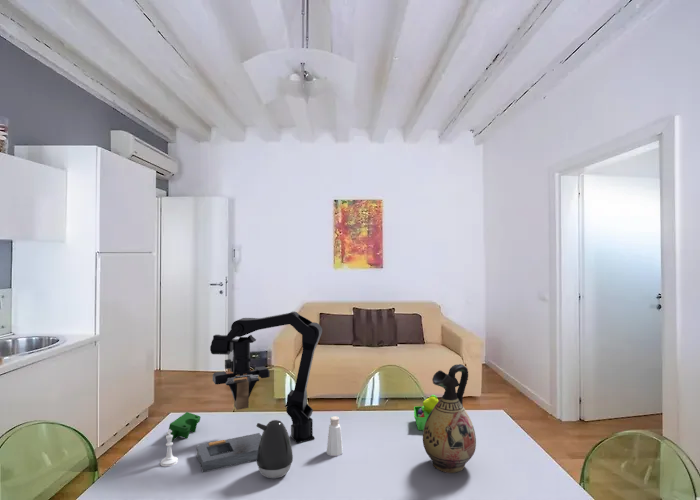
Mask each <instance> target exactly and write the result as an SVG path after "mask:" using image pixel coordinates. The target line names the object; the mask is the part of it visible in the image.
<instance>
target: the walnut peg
mask: <svg viewBox="0 0 700 500" xmlns="http://www.w3.org/2000/svg"><path fill="white" fill-rule="evenodd" d="M234 382H235V383H236V401H234V400H233V401H234V404H233V405H234V408H235V410H237V411H239V410H243V409H249V399H250V397H249V382H248V381H247V378H243V379H242V378H240V379H234Z"/></svg>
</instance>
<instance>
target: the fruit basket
mask: <svg viewBox="0 0 700 500" xmlns="http://www.w3.org/2000/svg"><path fill="white" fill-rule="evenodd" d="M438 402H439V399H438V396H437V395H435V394H431V395H430V396H429V397H428V398H426V399H425V400H423V402H422V406H421V405H419V406H416V405H415V406H414V407H413V416H414V419H415V423H416V426H417V427H416V428H417V430H418V431H424V427H425V423H426V420H427V418H428V416H429V414H430V413H431V411H432V410H433V408H434V407H435V405H436V404H437V403H438Z"/></svg>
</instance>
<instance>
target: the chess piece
mask: <svg viewBox="0 0 700 500" xmlns="http://www.w3.org/2000/svg"><path fill="white" fill-rule="evenodd" d="M171 432H172V430H171V429H169V428H168V431H167V432H166V436H165V439H166V443H165V446H166V447H167V449H166V456H165V457H164V458H162V459H161V461H160V466H161V467H165V468H167V467H172V466H175V465H177V464H178V463H179V458H178V457H177V456H174V455H173V451H172V446H173V445H174V442H172V441H173V440H172V438H173V435H171ZM167 434H168V435H167Z"/></svg>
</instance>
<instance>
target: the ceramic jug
mask: <svg viewBox="0 0 700 500" xmlns="http://www.w3.org/2000/svg"><path fill="white" fill-rule="evenodd" d="M468 370H469V369H468V367H466V366H465V365H464V364H460V363H459V364H454V365H451V367H450V368H449V370H448V374H447V373H445V372H444V371H442V370H440V369H439V370H438V371H436V373H434V375H433V377H432V378H431V379H432V384H434V386H438V387H441V388H443V389H444V393H443V395H442V396H441V397H440V399H438V403H437V404H436V405H435V407H434V408H433V410H432V411H431V413H430V414H429V416H428V418H427V420H426V423H425V427H424V430H422V431H423V433H422V443H423V447H424V451H425V453H426V455H428V457H429V458H430V460H431V463H432V467H433V468H434V469H435V470H439V471H441V472H442V473H448V474H454V473H460V472H461V471H463V469H464V468H465V466H466V464H467V462H469V461H470V460H471V459H472V457H473V456H474V454H475V452H476V449H477V438H476V437H477V436H476V432H475V428H474V427H475V426H474V425H473V422H472V419H471V418H470V416H469V414H468V412H467V411H466V408H465V407H464V405H463V404H464V403H463V401H464V394H465V390H466V386H467V384H468V380H469V371H468ZM458 372H459V373H460V372H461V376H460V380H459V381H458V379H457V377H456V374H457V373H458ZM456 388H457V390H456Z"/></svg>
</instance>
